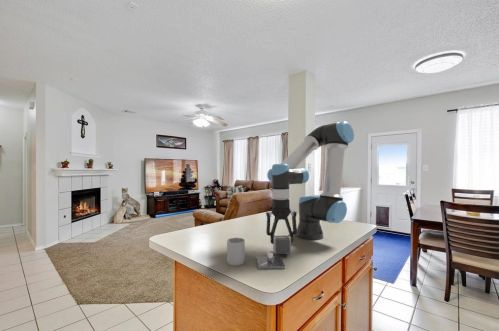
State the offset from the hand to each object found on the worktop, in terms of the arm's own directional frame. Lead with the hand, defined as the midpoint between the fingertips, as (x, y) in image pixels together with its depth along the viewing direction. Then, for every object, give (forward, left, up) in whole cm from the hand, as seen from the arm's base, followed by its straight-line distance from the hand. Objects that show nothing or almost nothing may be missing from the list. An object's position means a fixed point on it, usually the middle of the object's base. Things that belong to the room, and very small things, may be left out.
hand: (281, 250), depth 100 cm
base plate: (+7, +9, -2) cm, 12 cm away
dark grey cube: (0, 0, 0) cm, 0 cm away
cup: (+21, +6, -2) cm, 22 cm away
